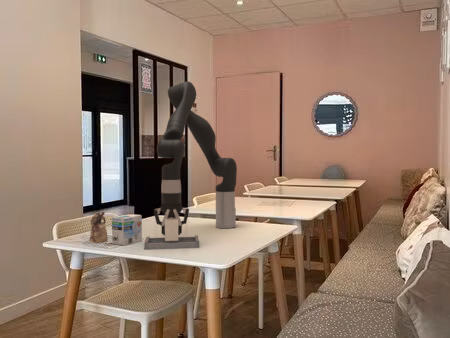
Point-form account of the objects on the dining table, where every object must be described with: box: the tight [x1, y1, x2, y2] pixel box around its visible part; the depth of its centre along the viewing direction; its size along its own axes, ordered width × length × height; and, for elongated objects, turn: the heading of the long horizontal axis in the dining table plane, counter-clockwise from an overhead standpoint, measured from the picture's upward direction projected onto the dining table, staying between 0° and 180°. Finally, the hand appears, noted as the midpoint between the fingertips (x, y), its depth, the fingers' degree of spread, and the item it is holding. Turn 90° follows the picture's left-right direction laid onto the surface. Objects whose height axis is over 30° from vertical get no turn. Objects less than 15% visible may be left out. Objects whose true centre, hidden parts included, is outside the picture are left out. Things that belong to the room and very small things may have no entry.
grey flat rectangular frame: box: [143, 234, 200, 250], centre depth 168 cm, size 20×12×2 cm, turn 96°
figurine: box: [89, 211, 109, 244], centre depth 177 cm, size 7×7×12 cm
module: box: [164, 217, 179, 241], centre depth 168 cm, size 5×8×8 cm, turn 6°
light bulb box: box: [111, 213, 143, 246], centre depth 174 cm, size 11×7×11 cm, turn 148°
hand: (171, 234), depth 168 cm, fingers closed on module, 5 cm apart
